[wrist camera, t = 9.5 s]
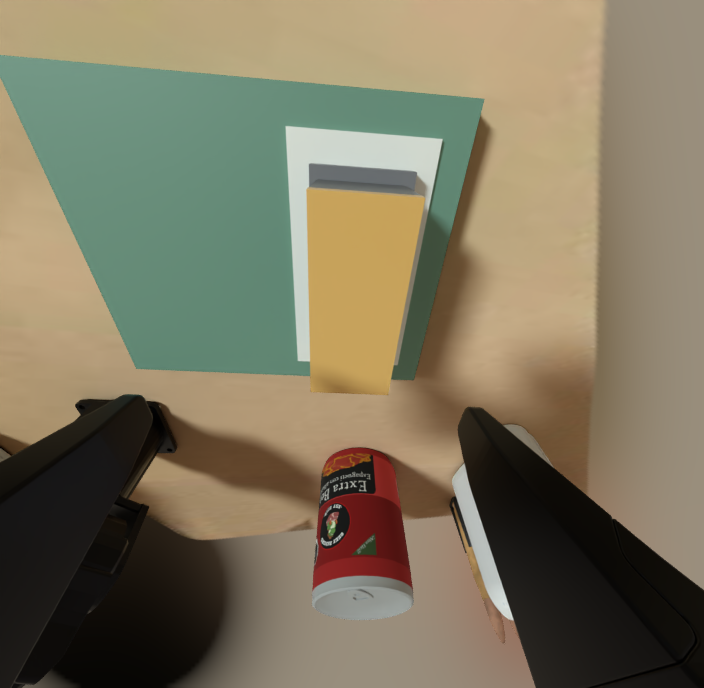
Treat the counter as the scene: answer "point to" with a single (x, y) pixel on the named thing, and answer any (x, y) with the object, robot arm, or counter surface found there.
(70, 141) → the board
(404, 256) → the yellow and grey block
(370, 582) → the canned food
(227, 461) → the counter surface
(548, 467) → the robot arm
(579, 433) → the counter surface
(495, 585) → the photo printer
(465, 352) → the counter surface
